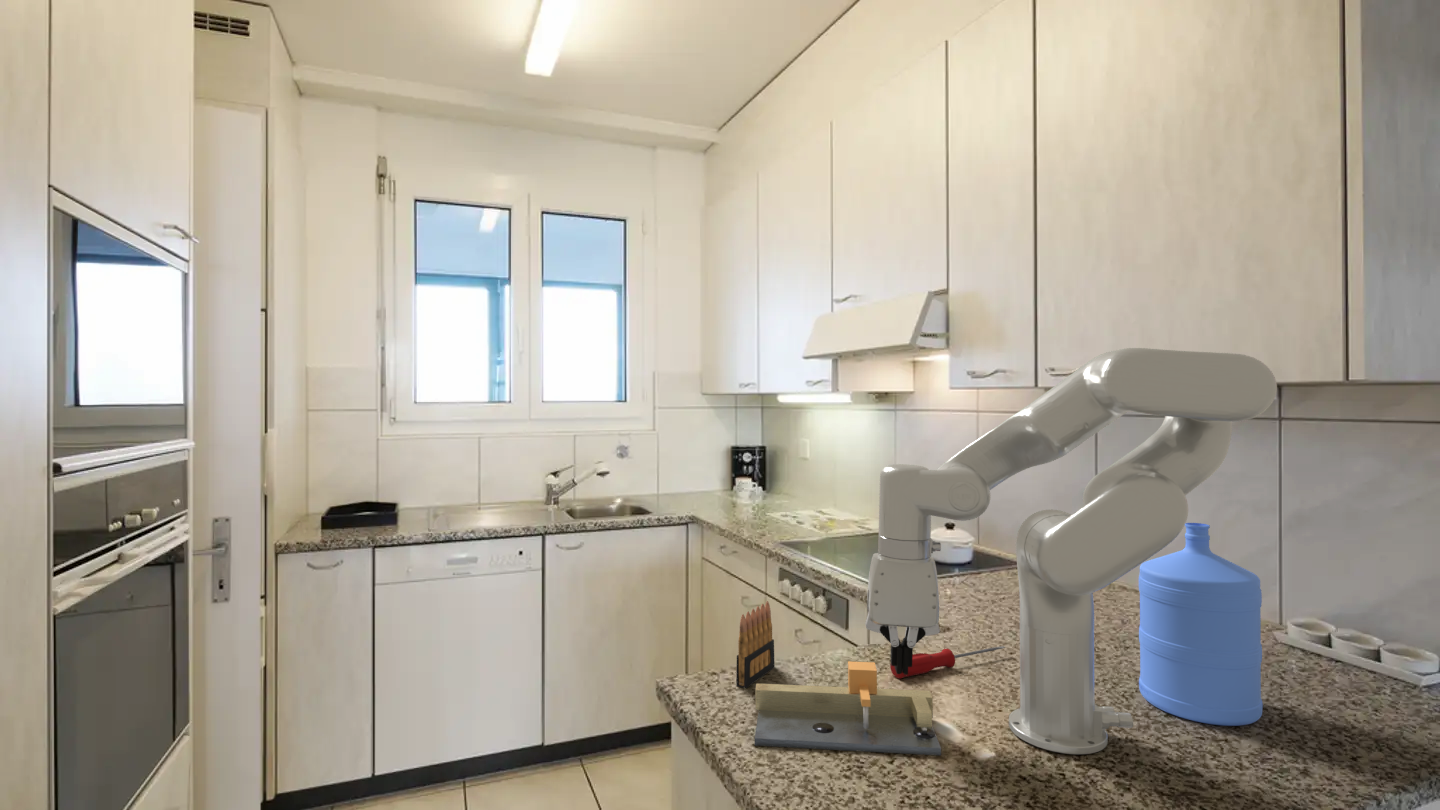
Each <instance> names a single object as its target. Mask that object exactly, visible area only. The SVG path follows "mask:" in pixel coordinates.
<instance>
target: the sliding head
mask: <svg viewBox="0 0 1440 810" xmlns="http://www.w3.org/2000/svg"><path fill="white" fill-rule="evenodd" d="M847 683H848V684H847V687H849V693H858V694H860V699H861V705H862V706H863V727H864V728H866V729H867V728H869V723H868V707H871V701H870V695H869V694H877V689H878V669H877V666H876V663H875V662H872V661H871V662H870V661H849V660H848V661H847Z"/></svg>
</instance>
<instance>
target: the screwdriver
mask: <svg viewBox="0 0 1440 810" xmlns="http://www.w3.org/2000/svg"><path fill="white" fill-rule="evenodd" d="M1005 648H1006V646H1004V645H1003V646H1002V645H1000V646H997V647H995V646H994V647H989V648H985V649H979V650H975V651H969V652H965V653H959V654H958V653H957V654H954V652H953V651H952V650H951V649H950V648H943V649H942V650H941V651H939V652H936V653H921V652H919V653H915V654H913V658H912V667H908V675H904V673H903V672H902V673H901V674H897V673H896V670H895V666H891V663H889V666H890V671H891V674H892V675H893V676H894V677H895V679H900V680H901V679H903V678H907V677H912V676H918V675H921V674H922V675H923V674H926V673H929V672H930V671H932V670H934V669H937V668H941V667H946V668H948V669H949V668H953V667H954V666H955V665H956V659H959V658H963V657H968V656H972V655H978V654H983V653H987V652H988V653H989V652H993V651H997V650H1002V649H1005Z"/></svg>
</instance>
